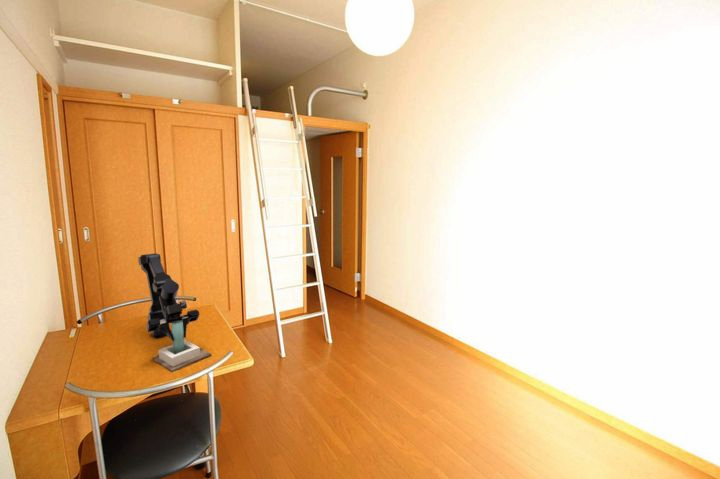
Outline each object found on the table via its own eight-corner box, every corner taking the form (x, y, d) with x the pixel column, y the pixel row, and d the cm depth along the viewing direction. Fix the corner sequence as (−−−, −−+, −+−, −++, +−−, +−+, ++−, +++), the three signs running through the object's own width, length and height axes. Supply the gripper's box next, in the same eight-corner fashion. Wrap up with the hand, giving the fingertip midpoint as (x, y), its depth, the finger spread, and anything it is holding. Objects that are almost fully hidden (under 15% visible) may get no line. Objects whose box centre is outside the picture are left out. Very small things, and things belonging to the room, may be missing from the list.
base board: (152, 359, 141) (152, 357, 141) (191, 344, 154) (191, 343, 154) (172, 372, 132) (171, 370, 132) (211, 355, 145) (211, 353, 145)
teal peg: (171, 355, 140) (169, 324, 138) (178, 350, 144) (176, 320, 142) (180, 356, 140) (177, 325, 137) (187, 351, 143) (184, 321, 141)
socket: (159, 357, 141) (158, 349, 140) (186, 347, 150) (185, 340, 149) (172, 366, 134) (171, 358, 134) (200, 355, 143) (199, 347, 143)
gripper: (145, 300, 135) (155, 337, 128) (196, 290, 147) (207, 323, 141) (142, 314, 142) (151, 349, 136) (191, 303, 154) (202, 335, 148)
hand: (179, 339), depth 140 cm, fingers closed on teal peg, 4 cm apart
